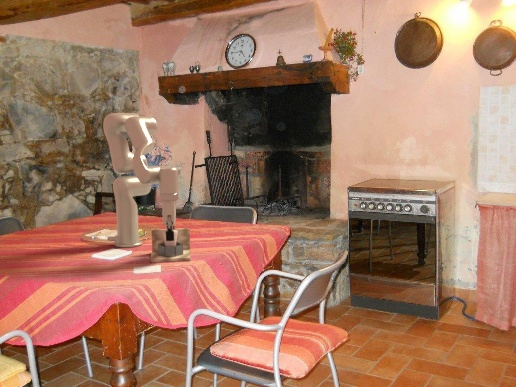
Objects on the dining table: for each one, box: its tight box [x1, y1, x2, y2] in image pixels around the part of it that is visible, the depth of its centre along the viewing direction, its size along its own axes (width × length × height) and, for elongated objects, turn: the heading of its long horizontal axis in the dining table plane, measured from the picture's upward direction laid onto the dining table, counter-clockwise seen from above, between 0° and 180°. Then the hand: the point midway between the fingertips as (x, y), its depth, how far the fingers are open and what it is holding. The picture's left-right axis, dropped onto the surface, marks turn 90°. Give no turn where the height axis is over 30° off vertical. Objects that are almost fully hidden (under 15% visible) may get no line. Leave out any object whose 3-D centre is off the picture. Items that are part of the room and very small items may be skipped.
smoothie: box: [162, 230, 178, 247], centre depth 215 cm, size 6×6×14 cm
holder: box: [149, 227, 191, 263], centre depth 216 cm, size 16×16×10 cm
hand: (170, 238), depth 216 cm, fingers open, 9 cm apart
